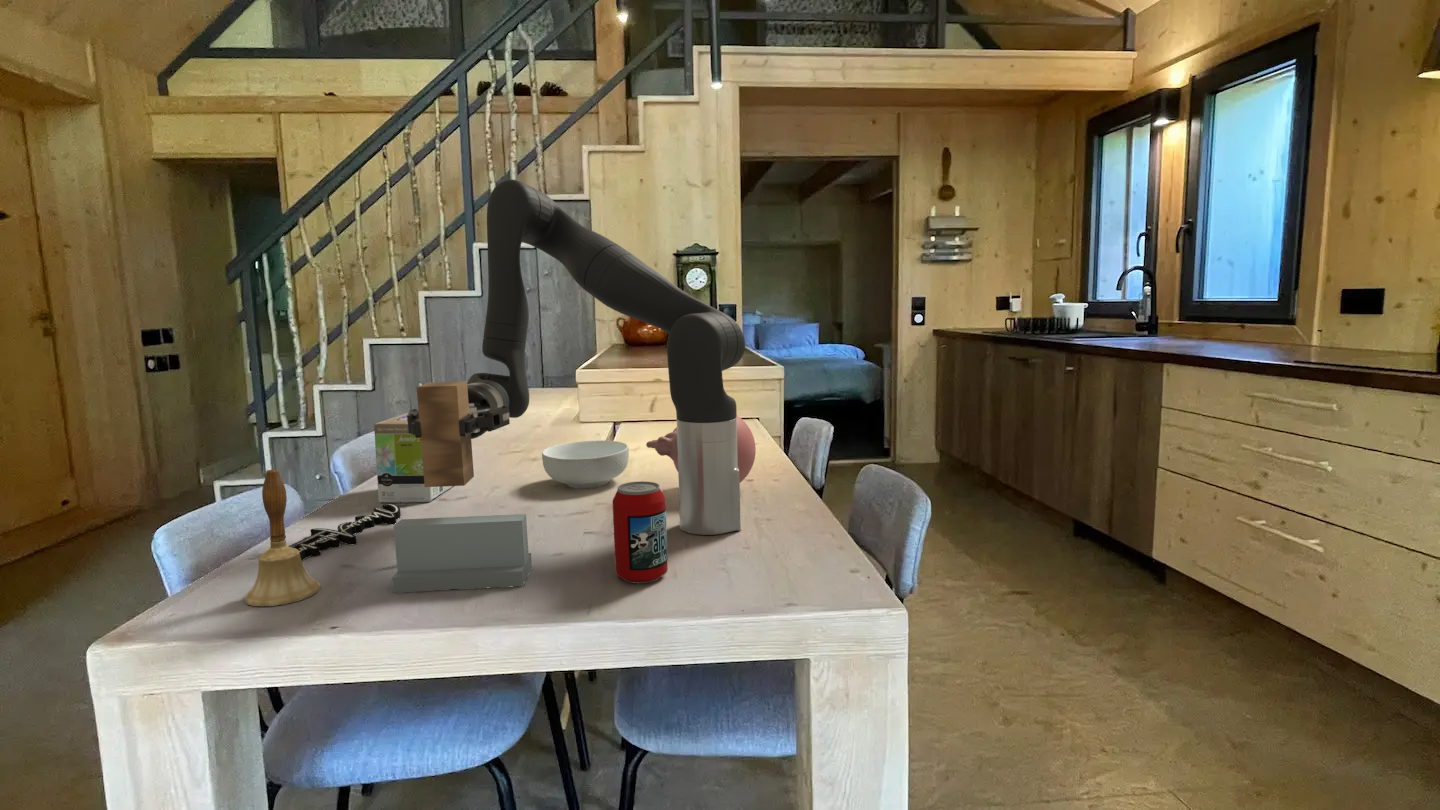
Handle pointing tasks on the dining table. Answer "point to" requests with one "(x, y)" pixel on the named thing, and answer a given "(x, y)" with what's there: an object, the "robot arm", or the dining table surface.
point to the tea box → (400, 464)
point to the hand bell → (279, 556)
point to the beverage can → (640, 532)
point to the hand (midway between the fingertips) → (440, 429)
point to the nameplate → (345, 531)
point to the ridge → (461, 553)
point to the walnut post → (444, 434)
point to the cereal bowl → (586, 462)
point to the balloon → (744, 447)
